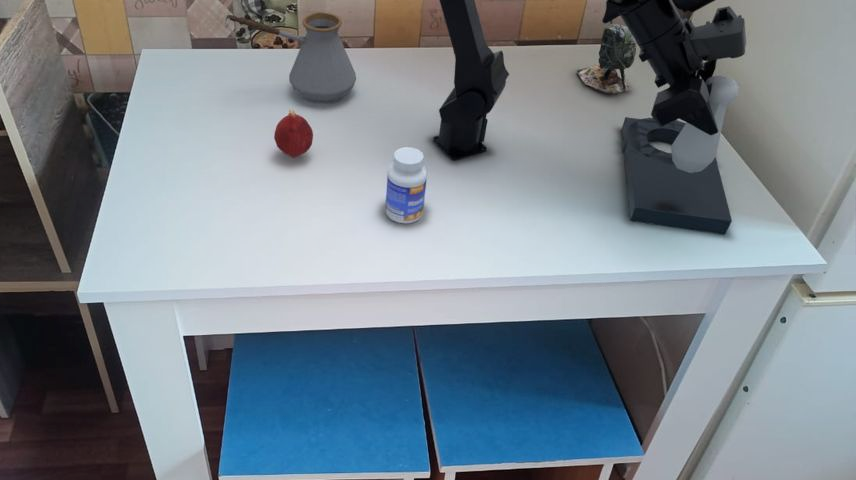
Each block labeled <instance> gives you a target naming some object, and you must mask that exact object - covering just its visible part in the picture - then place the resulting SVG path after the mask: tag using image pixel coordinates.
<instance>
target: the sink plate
mask: <svg viewBox="0 0 856 480" xmlns="http://www.w3.org/2000/svg"><path fill="white" fill-rule="evenodd" d="M686 123H687V122H685V121H682V120H679V119H677V120H675V121H673V122H670V123H668V124H666V125H664V126H658V125H657V123H656V122H655V120H654V119H653V117H645V118H635V117H628V116H626V117H624V120H623V123H622V126H621V128H620V129H621V130H620V131H621V132H620V133H621V152H622V154H623V162H624V163H623V164H624V171H625V180H626V192H627V201H628V212H629V220H630V222H635V223H642V224H643V223H644V224H650V225H658V226H664V227H672V228H677V229H685V230H692V231H698V232H706V233H713V234H718V235H719V234H721V235H726V234H727V232H728V230H729V228H730V226H731V224H732V222H733V220H732V216H731V211H730V208H729V204H728V200H727V196H726V193H725V189H724V184H723V180H722V177H721V176H722V175H721V173H720V169H719V165H718V159H717V155H716V156H715V158H714V160H713V161H712V163H710V164H709V165H708V166H707V167H706V168H705V169H703V170H702V171H699V172H694V173H689V172H686V171H683V170H680V169H678V168H677V167H676V165H675V164H674V162H673V161H672V152H667V151H664V150H661V149H659V148H657V147H655V146H654V145H652V144H651V142H663V143H669V144H670V145H672V144H673V143H674V141H675V140H676V138H677V137H678V135H679V133H680V132H681V130H682V129H683V127H684V126H685V124H686Z"/></svg>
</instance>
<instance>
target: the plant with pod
mask: <svg viewBox="0 0 856 480" xmlns="http://www.w3.org/2000/svg"><path fill="white" fill-rule="evenodd" d="M601 36H602V37H601V41H600V48H599V51H598V57H599V58H598V64H599V65H597V64H595V65H592V66H589V67H584V68H581V69H579V68H578V69H577V70H576V73H577V74H578V77H579V78H580V79H581V80H582V82H583V84H584V85H587V86H590V87H591V88H594V89H596V90H599V91H601V92H603V93H604V94H607V95H608V94H609V95H610V94H611V95H612V94H613V95H615V94H616V93H617V94H619V93H623V92H627V91H628V89H629V85H628V83H626V75H625V74H626V73H625V70H626V69H629V68H630V67H632V66H633V64H634V62H635V59H636V58H635V57H636V54H637V46H638V44H637V42H636V41H635V39H634V38H633V36H632V34H631V33H630V31H629V29H628V28H627V26H626V25H624V24H621V23H613V20H611V21H610V22H609V24H608V25H606V27H604V28H603V32H602V35H601ZM617 70H619V73H620V75H619V74H618V71H617Z"/></svg>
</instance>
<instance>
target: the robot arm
mask: <svg viewBox="0 0 856 480" xmlns="http://www.w3.org/2000/svg"><path fill="white" fill-rule="evenodd" d="M715 1H716V0H606V2H605V11H604V15H603V17H602V21H601V22H602V23H603V24H608V23H610V21H611V20H612V21H613V20H615V19H617V18H618V17H620V18H621V20H622V21H623V23H624V24H625V26H627V28H628V29H629V31H630V33H631V34H632V36H633V38H634V39H635V41H636V44H637V46H638V48H639V49H640V51H639V53H638V58H639V60H640V61H641V63H644V62H646V61H647V63H648V64H649V66H650V67H651V69H652V71H653V72H654V74H655V79H654V83H655V85H656V87H657V88H658V89H659V88H661V87H663V86H665V85H667V84H668V86H669V87H667V88H665V89H663V90H661V91H658V92H657V94H656V96H655V100H654V103H653V105H652V109H651V113H650V115H651V118H653V119H654V120H655V122H656V123H657V125H658V126H664V125H666V124H668V123H670V122H673V121H675V120H680V121H682V122H684V123H689V124H691V125H692V126H694V127H696V128H698V129H700V130H701V131H703V132H705V133H707V134H709V135H714V134H716V133H718V127H717V124H716V121H715V118H714V116H713V113H712V110H711V107H710V105H709V102H708V98H709V96H710V95H711V91H712V85H713V83H711V84H708V85H706V84H705V81H706V80H707V79H708V78H710V77H713V76H714V74H715V70H716V68H717V62H718V60H723V59H729V58H730V59H737V58H741V57H742V56H744V55H745V54H746V45H747V34H746V21H745V18H744V17H742V14H739V15H737V14H736V13H735V11H734V10H733V9H732V6H730V5H729V6H724V7H718V8H717V9H716V10H715V14H714V16H713V18H712V20H711V22H710V20H708V21H705V24H703V25H699V26H695V25H694V24H693V22H692V20H691V19H688V18H687V17H685V18H683V19H682V16H681V15H680V13H679V12H678V10H679V11H680V10H681V11H682V12H683V13H687V12H688V11H689V13H695V12H697V11H698V10H700V9H703V8H705V7H706V6H707V5H710V4H711V3H713V2H715ZM439 3H440V7H441V11H442V15H443V17H444V21H445V22H444V23H445V25H446V29H447V32H448V36H449V39H450V43H451V47H452V50H453V54H454V76H453V77H454V78H453V85H454V87H453V89H452V90H451V92H450V93H449V94H448V96H447V97H446V99H445V101H444V102H443V103H442V105H441V106H440V108H439V109H438V113H439V117H440V124H439V125H440V126H439V132H438V135H435V136H432V141H433V143H435V144H436V146H438V148H440V150H441V151H442V152H443V153H444V155H446V156H447V157H448V158H449V159H450V160H451V161H458V160H461V159H465V158H469V157H472V156H477V155H480V154H484V153H486V152H488V147H487V146H486V145H485V144H484V142H485V137H486V132H487V125H488V118H487V115H488V114H489V113H490V112H491V111H492V109H494V107H495V105H496V103H497V101H498V100H499V98H500V96H501V95H502V93H503V91H504V90H505V87H506V84H507V79H508V77H509V76H510V73H509V71H508V70H507V68H506V66H505V65H506V64H505V59H504V58H505V57H504V53H503V50H498V51H496V52H493V50H492V49H491V48H490V47H489V46H488V45H487V42H486V39H485V36H484V32H483V27H482V23H481V19H480V17H479V12H478V8H477V3H476V0H439ZM676 8H677V9H678V10H677V9H676Z"/></svg>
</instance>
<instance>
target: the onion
mask: <svg viewBox="0 0 856 480" xmlns="http://www.w3.org/2000/svg"><path fill="white" fill-rule="evenodd" d="M273 138H274V141H275V144H276V147H277V148H278V149H279V151H281V152H282V153H283V154H284V155H286V156H288V157H291V158H297V157H300V156H302V155H304V154H306V153H307V152H308V151H309V150H310V149H311V147H312V145H313V140H314V131H313V128H312V127H311V125H310V124H309V122H308V120H307V119H306V118H304V117H303V116H302V115H299V114H297V113H296V112H295V111H294V110H293V109H289V110H288V114H287V115H285V116H284V117H283V118H281V119H280V120H279V121H278V123H277V124H276V127H275V130H274V135H273Z"/></svg>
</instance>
